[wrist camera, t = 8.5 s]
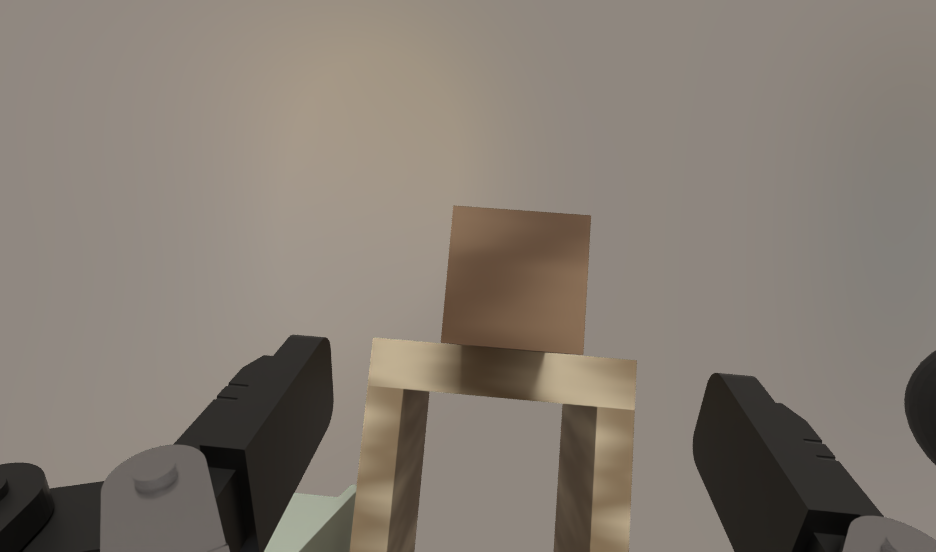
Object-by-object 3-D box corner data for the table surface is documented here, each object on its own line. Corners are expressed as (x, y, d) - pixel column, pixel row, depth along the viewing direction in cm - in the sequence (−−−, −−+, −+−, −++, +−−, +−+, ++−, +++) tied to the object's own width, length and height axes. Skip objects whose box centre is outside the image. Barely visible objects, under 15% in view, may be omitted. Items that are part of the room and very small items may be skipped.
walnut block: (523, 351, 36) (526, 301, 37) (583, 355, 13) (590, 215, 13) (473, 346, 37) (477, 297, 37) (440, 342, 13) (453, 205, 13)
